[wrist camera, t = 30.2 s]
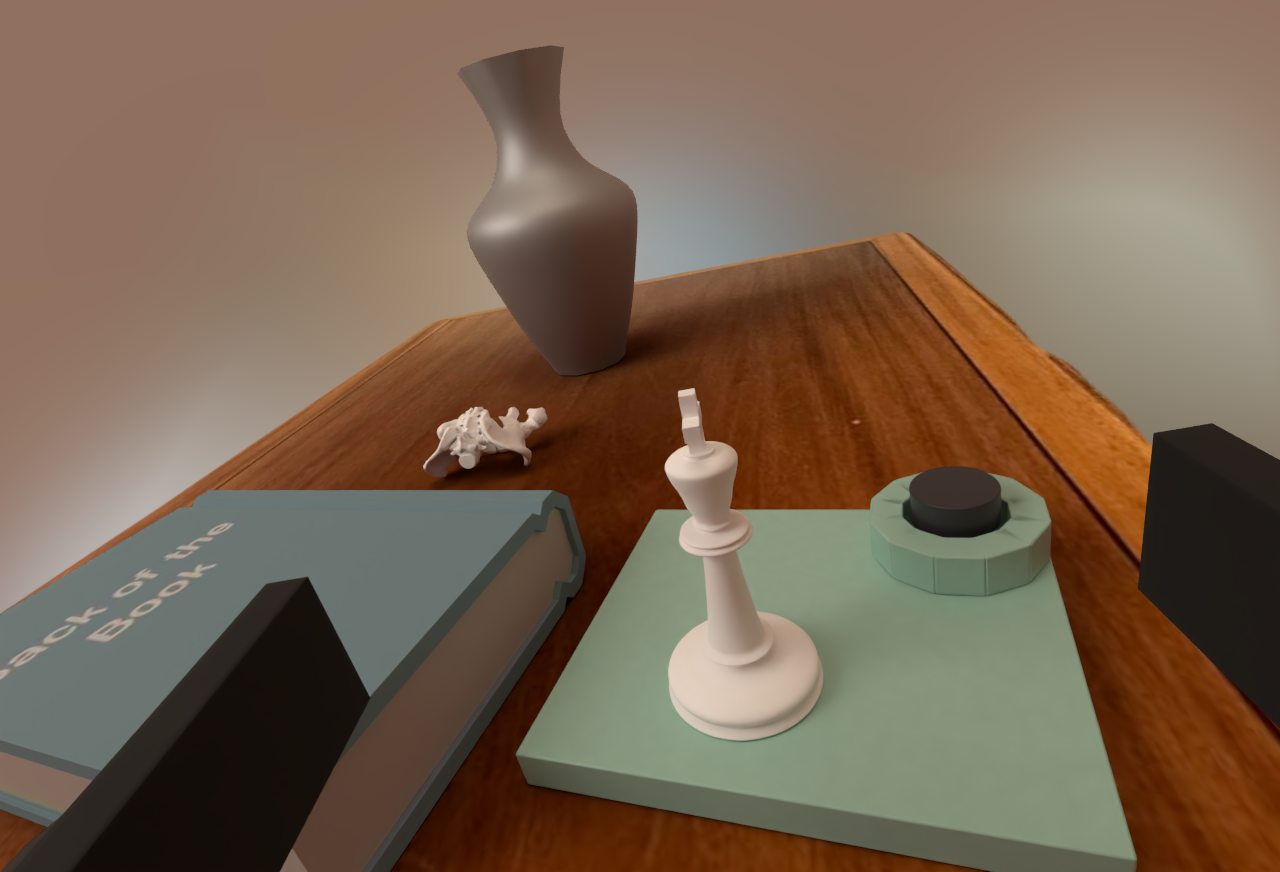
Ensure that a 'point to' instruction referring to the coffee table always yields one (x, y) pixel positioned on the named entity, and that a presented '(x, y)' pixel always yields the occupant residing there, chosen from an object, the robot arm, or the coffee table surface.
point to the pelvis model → (482, 438)
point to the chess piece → (731, 611)
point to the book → (359, 610)
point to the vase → (551, 219)
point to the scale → (859, 693)
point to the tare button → (955, 502)
